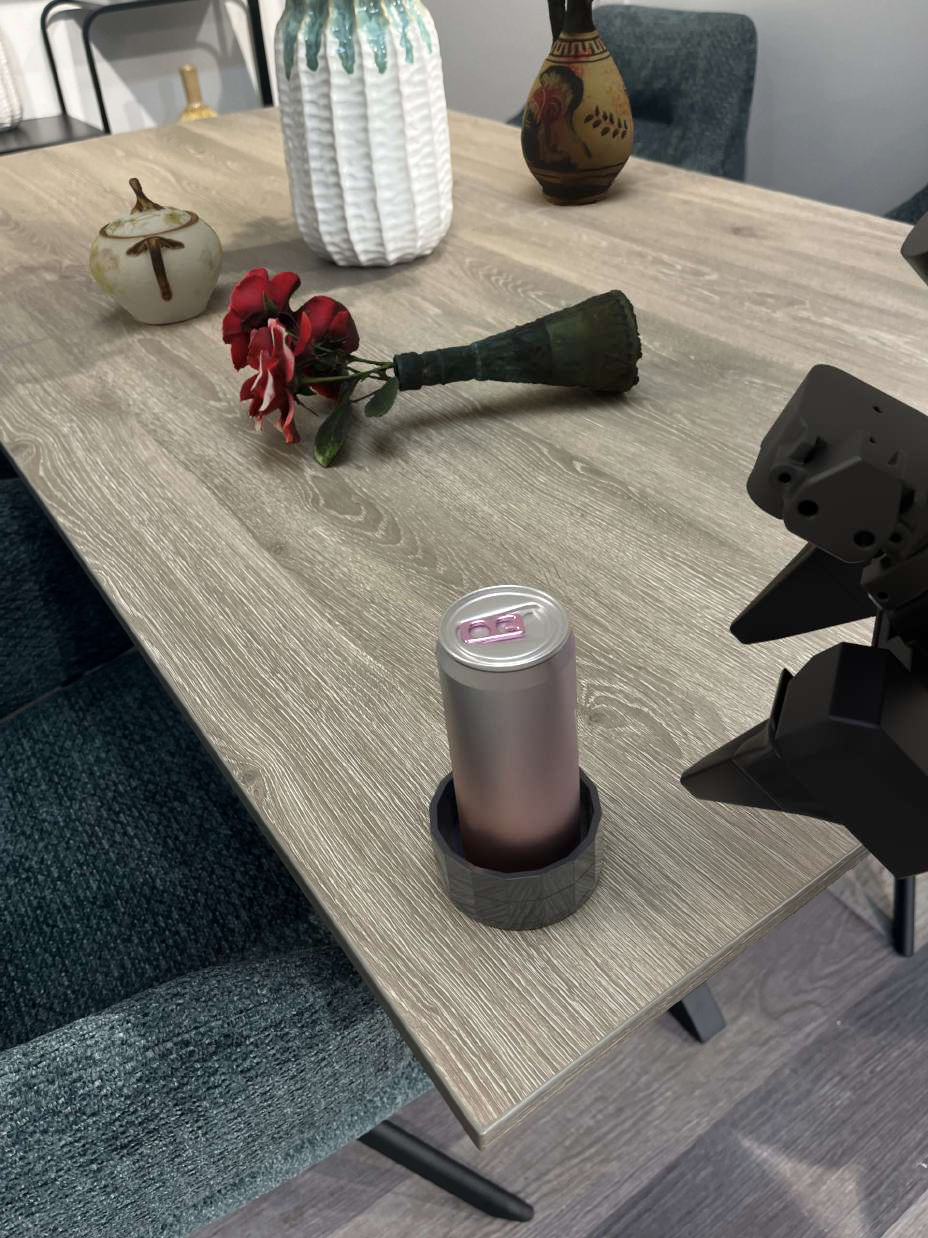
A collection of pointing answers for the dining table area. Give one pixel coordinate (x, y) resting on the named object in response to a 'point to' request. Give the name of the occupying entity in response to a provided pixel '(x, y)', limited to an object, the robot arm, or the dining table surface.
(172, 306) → the sugar bowl
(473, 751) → the beverage can
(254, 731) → the dining table surface
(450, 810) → the pot
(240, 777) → the dining table surface
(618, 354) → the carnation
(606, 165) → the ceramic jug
